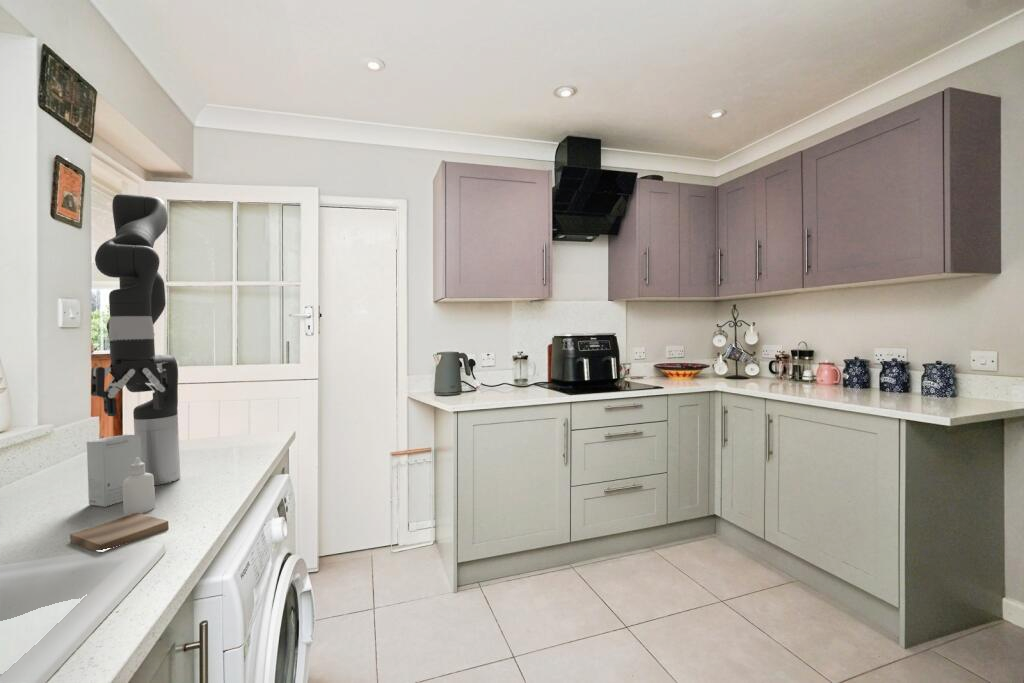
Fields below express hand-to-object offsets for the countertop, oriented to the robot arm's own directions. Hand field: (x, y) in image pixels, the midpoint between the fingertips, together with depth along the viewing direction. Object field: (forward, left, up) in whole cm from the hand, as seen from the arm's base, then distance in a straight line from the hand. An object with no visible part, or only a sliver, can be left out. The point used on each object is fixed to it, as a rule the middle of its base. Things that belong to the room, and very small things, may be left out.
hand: (135, 412), depth 101 cm
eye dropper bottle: (0, 0, -22) cm, 22 cm away
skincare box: (-14, +2, -22) cm, 26 cm away
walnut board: (+10, -8, -22) cm, 25 cm away
